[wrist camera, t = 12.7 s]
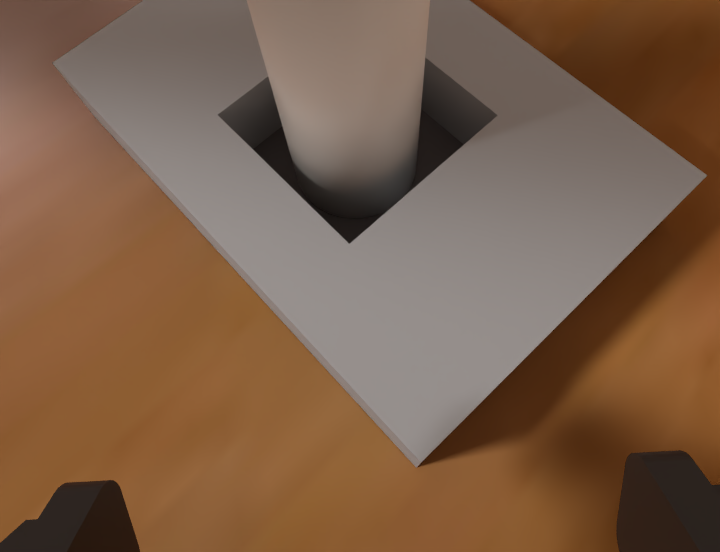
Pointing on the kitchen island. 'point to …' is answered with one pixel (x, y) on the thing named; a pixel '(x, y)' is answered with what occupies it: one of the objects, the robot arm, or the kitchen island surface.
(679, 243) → the kitchen island surface
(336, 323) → the socket
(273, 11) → the plug
